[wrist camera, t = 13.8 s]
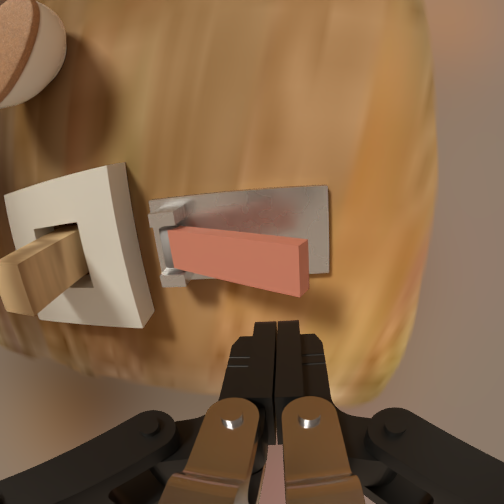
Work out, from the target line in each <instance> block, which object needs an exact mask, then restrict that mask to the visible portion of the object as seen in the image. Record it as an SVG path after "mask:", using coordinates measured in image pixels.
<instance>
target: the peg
mask: <svg viewBox="0 0 504 504" xmlns="http://www.w3.org/2000/svg"><path fill="white" fill-rule="evenodd" d="M88 272H89V269H88V265H87V262H86V258H85V254H84V250H83V246H82V242H81V238H80V233H79V229H78V225H76V226H66V227H60V228H58V229H56V230H54V231H52V232H50V233H48V234H46V235H44V236H42V237H40V238H38V239H36V240H34V241H33V242H31V243H29V244H27V245H25V246H23V247H21V248H19V249H18V250H16V251H14V252H12V253H10V254H8V255H7V256H5V257H3V258H1V259H0V295H1V298H2V301H3V303H4V306H5V309H6V311H8V312H13V313H19V314H24V315H30V316H36V315H37V314H38V313H39V312H40V311H41V310H42V309H44V308H45V307H46V306H47V305H48V304H50V303H51V302H52V301H53V300H54V299H56V298H57V297H58V296H59V295H60V294H62V293H63V292H64V291H65V290H66V289H68V288H69V287H70V286H71V285H73V284H74V283H75V282H76V281H78V280H79V279H80V278H82V277H83V276H84V275H85V274H87V273H88Z"/></svg>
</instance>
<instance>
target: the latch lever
mask: <svg viewBox="0 0 504 504" xmlns="http://www.w3.org/2000/svg"><path fill="white" fill-rule="evenodd" d="M159 234H160V239H161V245H162V250H163V255H164V260H165V265H166V267H167V268H176V269H180V270H184V271H188V272H192V273H196V274H200V275H204V276H208V277H213V278H217V279H221V280H225V281H229V282H234V283H238V284H242V285H246V286H251V287H255V288H260V289H264V290H268V291H273V292H277V293H282V294H286V295H291V296H296V297H301V296H302V295H303V294H304V293H305V292H306V291H307V290H308V289H309V252H308V239H301V238H292V237H284V236H275V235H265V234H256V233H247V232H237V231H228V230H218V229H208V228H198V227H188V226H179V225H174V226H163V227H161V228H159Z"/></svg>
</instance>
